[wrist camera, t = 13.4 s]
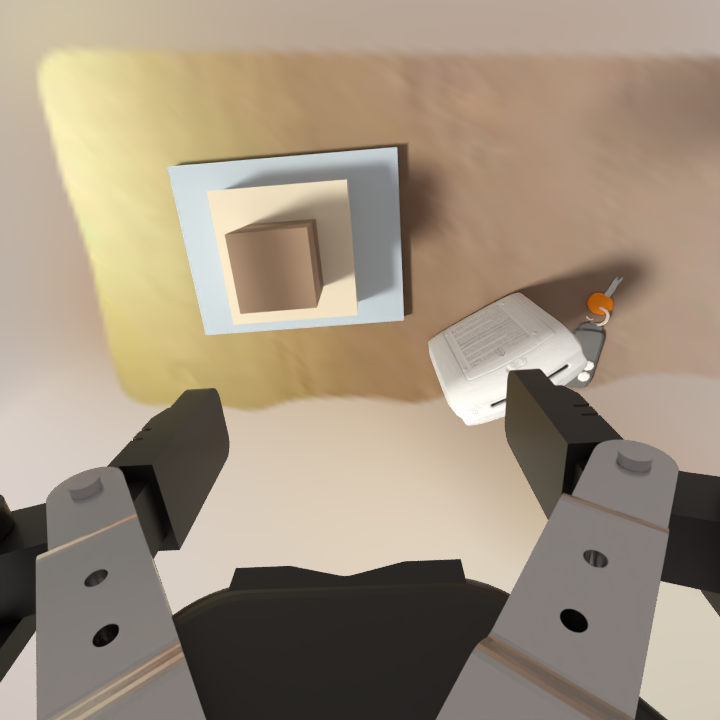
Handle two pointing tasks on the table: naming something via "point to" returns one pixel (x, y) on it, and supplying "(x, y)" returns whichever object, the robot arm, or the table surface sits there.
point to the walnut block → (276, 266)
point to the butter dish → (290, 203)
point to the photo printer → (501, 355)
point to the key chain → (593, 334)
